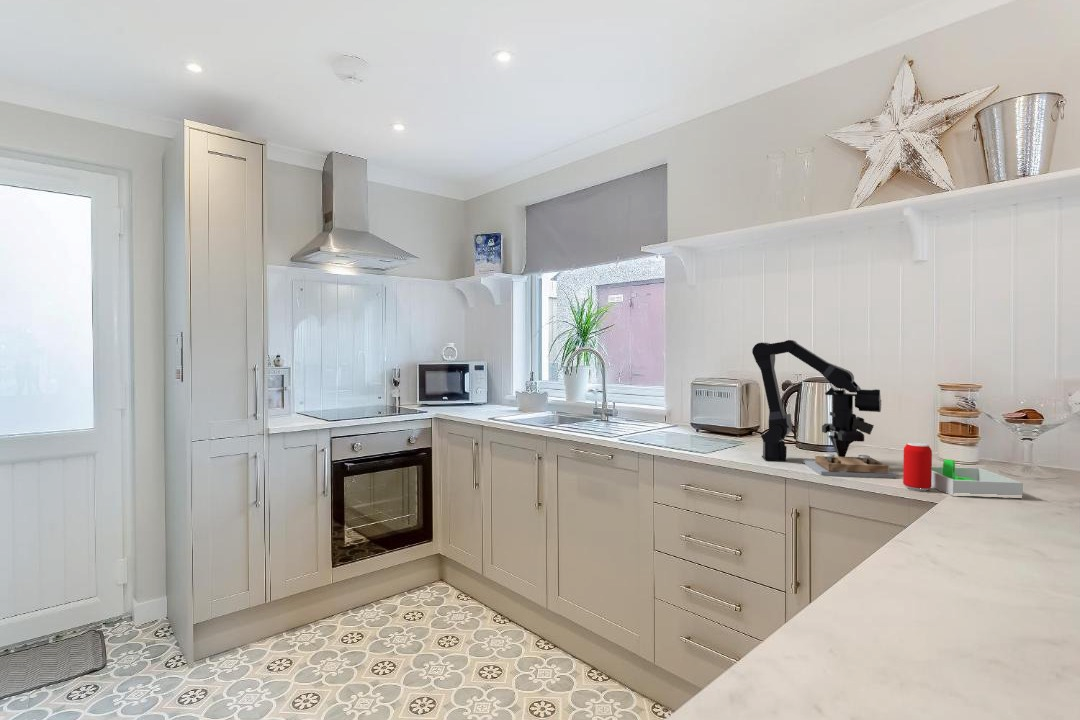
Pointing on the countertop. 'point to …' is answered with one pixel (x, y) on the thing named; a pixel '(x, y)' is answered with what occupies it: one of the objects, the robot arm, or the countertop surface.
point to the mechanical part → (951, 470)
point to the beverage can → (917, 466)
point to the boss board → (825, 472)
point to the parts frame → (975, 482)
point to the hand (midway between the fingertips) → (841, 459)
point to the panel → (851, 464)
